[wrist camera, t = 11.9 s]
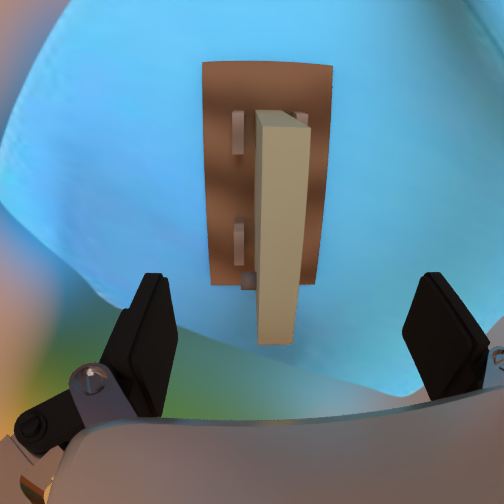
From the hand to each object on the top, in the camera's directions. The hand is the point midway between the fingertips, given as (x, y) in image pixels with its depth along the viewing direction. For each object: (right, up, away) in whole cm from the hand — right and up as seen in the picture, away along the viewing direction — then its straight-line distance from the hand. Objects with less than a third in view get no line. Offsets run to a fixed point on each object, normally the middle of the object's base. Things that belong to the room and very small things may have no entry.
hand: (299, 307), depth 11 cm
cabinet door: (0, +8, +15) cm, 17 cm away
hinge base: (0, +8, +16) cm, 18 cm away
